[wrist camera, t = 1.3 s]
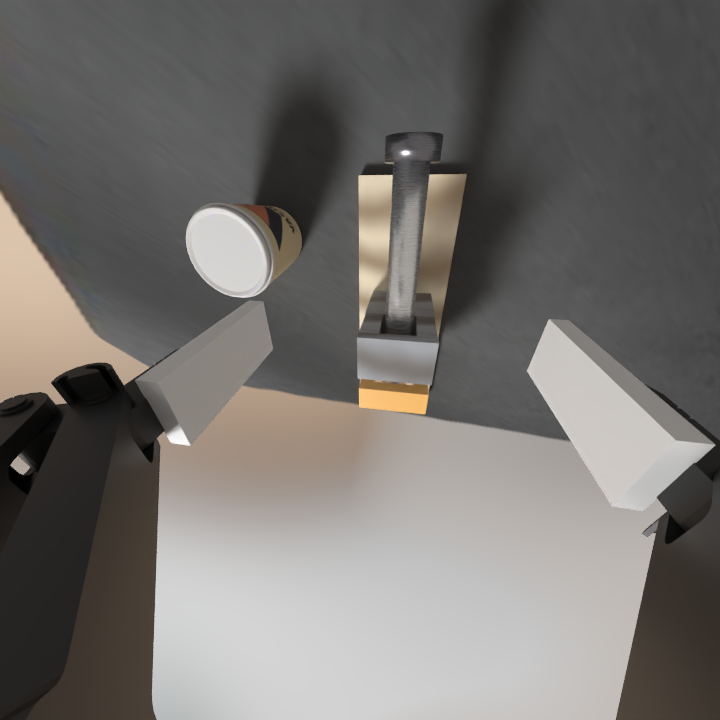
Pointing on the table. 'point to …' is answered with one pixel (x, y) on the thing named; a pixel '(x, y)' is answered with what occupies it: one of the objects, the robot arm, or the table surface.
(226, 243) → the coffee cup
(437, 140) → the shaft
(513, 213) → the table surface
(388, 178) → the bearing fixture
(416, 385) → the frame
